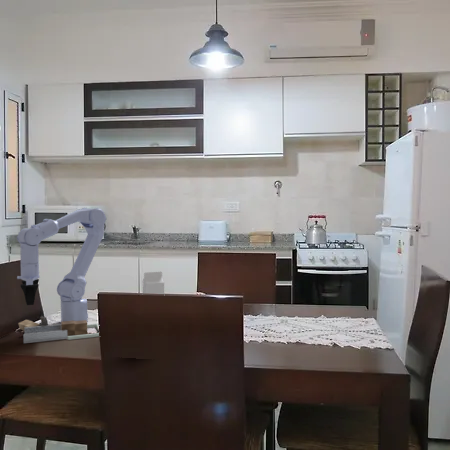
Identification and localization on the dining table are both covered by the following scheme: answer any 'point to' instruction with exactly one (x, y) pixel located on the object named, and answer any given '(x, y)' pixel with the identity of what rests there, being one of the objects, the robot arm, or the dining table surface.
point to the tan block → (33, 323)
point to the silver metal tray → (44, 333)
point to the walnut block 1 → (68, 327)
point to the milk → (153, 283)
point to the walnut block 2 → (80, 327)
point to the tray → (85, 334)
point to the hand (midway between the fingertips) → (30, 302)
